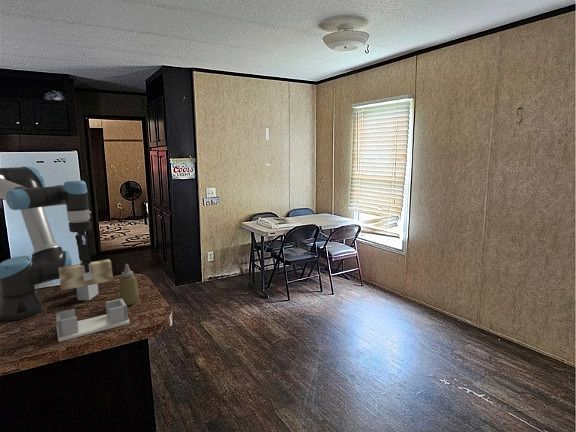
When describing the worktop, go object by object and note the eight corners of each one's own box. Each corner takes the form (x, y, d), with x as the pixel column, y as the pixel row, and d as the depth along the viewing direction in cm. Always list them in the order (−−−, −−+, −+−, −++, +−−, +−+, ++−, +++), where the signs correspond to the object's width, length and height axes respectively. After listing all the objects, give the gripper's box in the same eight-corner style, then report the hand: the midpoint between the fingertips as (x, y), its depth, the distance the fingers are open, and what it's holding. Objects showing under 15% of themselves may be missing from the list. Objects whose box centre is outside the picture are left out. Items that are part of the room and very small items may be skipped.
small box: (87, 293, 174) (85, 272, 172) (98, 293, 173) (96, 272, 172) (77, 300, 166) (74, 278, 164) (89, 300, 166) (86, 278, 164)
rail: (61, 290, 138) (58, 270, 137) (60, 287, 142) (58, 267, 140) (113, 280, 148) (111, 261, 147) (111, 277, 152) (109, 259, 150)
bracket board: (58, 341, 130) (56, 323, 129) (56, 328, 140) (54, 311, 138) (129, 323, 143) (128, 306, 142) (123, 312, 153) (122, 296, 152)
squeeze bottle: (126, 308, 157) (122, 268, 154) (116, 303, 162) (112, 265, 159) (143, 302, 164) (140, 263, 160) (133, 297, 168) (130, 260, 165)
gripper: (94, 222, 136) (101, 282, 139) (87, 216, 150) (93, 271, 154) (71, 225, 131) (79, 286, 135) (66, 219, 145) (73, 274, 149)
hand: (86, 278), depth 144 cm, fingers closed on rail, 5 cm apart
